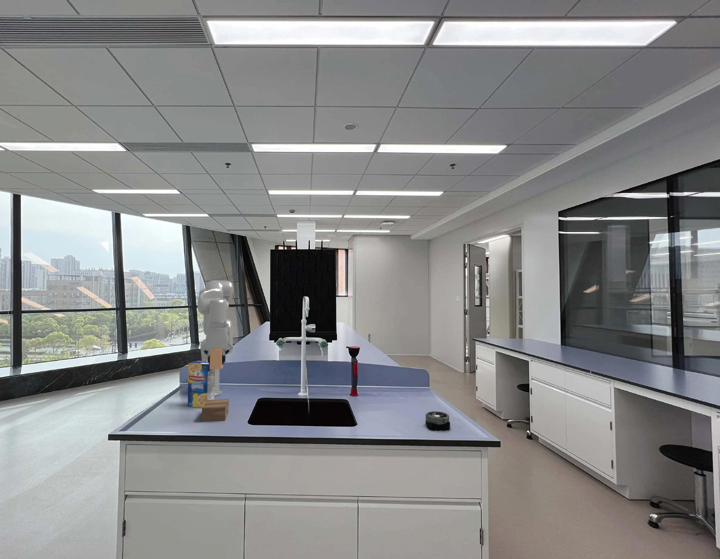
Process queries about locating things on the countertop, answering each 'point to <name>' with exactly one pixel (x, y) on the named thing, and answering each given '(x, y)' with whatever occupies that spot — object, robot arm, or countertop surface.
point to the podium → (215, 410)
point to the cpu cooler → (437, 421)
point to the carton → (216, 359)
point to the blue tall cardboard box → (200, 383)
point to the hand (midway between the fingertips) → (216, 363)
